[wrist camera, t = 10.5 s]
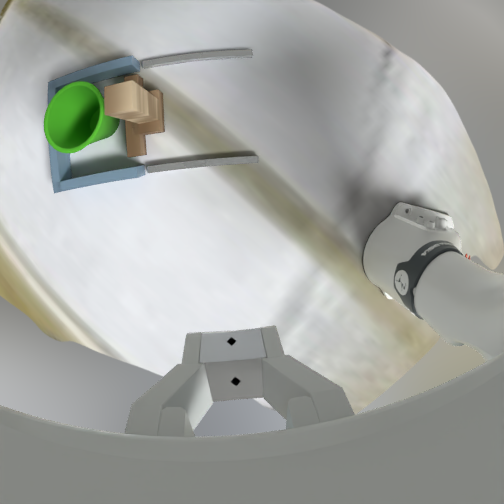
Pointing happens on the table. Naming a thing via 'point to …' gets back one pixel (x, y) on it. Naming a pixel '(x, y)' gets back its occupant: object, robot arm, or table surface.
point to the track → (190, 58)
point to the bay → (62, 160)
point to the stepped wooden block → (135, 111)
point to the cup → (77, 118)
